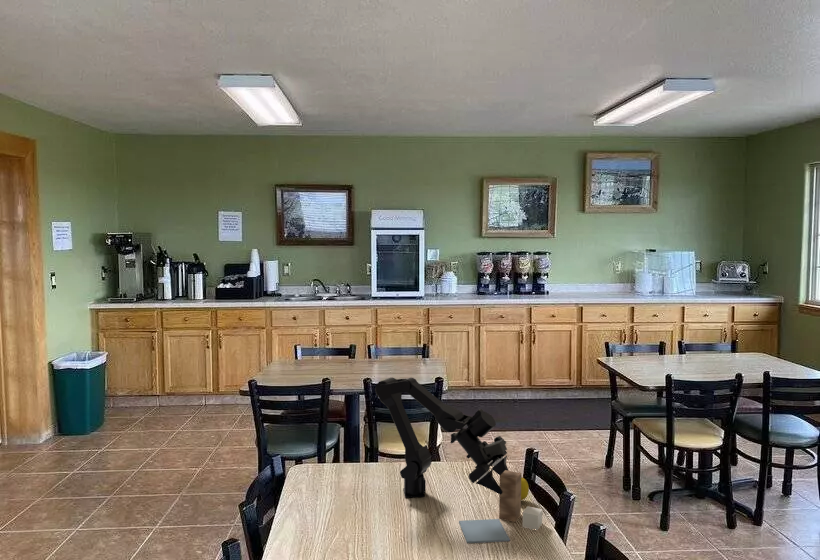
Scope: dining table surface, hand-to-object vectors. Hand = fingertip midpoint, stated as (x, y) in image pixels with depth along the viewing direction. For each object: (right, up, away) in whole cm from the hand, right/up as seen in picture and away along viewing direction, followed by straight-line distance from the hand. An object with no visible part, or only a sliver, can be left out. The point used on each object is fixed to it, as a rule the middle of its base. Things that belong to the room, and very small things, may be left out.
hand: (507, 487), depth 173 cm
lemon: (+6, -8, +11) cm, 15 cm away
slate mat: (-8, -9, -9) cm, 15 cm away
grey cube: (+6, -9, -5) cm, 12 cm away
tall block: (+1, -9, 0) cm, 9 cm away
